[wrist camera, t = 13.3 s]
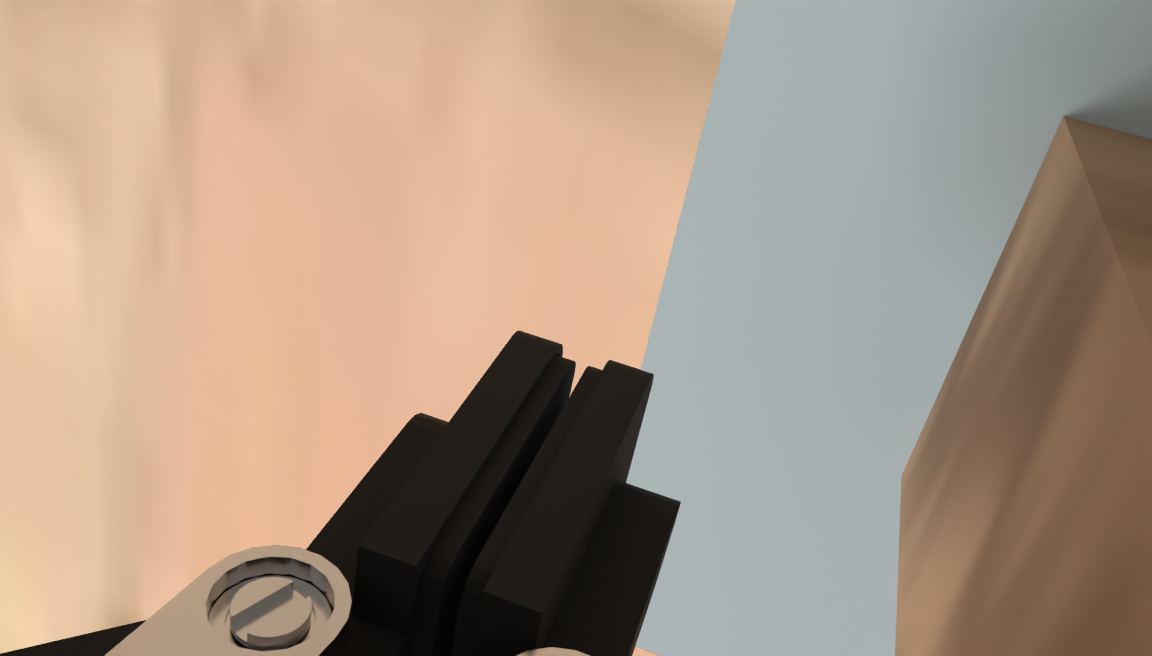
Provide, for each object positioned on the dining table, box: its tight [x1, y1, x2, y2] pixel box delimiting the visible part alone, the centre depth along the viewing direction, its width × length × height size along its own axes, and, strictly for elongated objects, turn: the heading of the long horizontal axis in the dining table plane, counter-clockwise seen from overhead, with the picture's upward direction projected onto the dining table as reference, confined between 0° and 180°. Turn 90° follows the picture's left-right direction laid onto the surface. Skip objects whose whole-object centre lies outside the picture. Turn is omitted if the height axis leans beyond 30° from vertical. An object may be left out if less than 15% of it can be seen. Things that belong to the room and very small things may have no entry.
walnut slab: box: [895, 116, 1152, 656], centre depth 12 cm, size 7×4×11 cm, turn 169°
